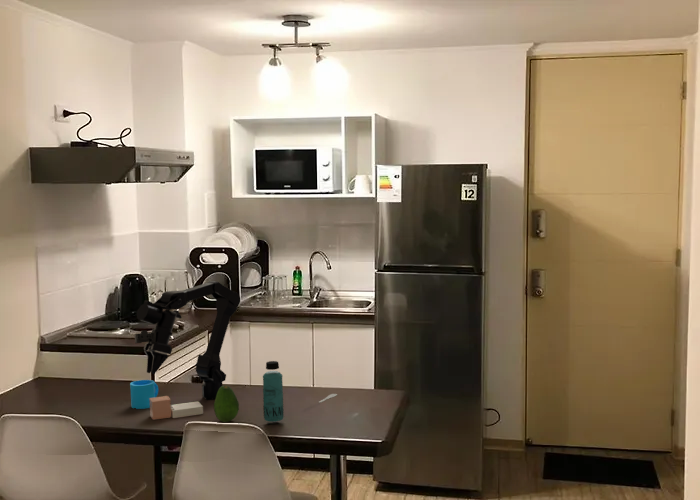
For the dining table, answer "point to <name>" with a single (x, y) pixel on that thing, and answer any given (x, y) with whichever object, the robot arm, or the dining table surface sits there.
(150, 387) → the mug
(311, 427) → the dining table surface
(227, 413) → the avocado
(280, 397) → the beverage bottle
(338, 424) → the dining table surface
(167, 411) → the tan cube
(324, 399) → the butter knife
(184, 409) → the slab
